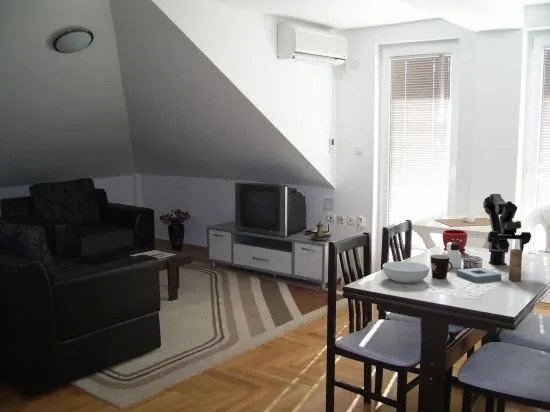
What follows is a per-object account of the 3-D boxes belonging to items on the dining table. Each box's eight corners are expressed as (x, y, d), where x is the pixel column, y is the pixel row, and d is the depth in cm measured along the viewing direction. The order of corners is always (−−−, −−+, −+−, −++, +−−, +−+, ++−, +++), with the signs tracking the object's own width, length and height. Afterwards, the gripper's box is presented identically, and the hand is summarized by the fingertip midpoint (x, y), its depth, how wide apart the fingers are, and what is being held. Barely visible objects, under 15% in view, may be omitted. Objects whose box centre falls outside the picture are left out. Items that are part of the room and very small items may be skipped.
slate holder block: (481, 272, 274) (481, 267, 274) (501, 279, 261) (501, 274, 261) (456, 275, 270) (456, 269, 270) (475, 282, 257) (475, 276, 257)
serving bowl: (439, 282, 257) (439, 267, 256) (404, 289, 246) (405, 273, 245) (406, 273, 275) (406, 259, 274) (372, 278, 264) (373, 264, 263)
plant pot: (440, 249, 328) (440, 229, 326) (463, 250, 327) (464, 229, 325) (444, 254, 315) (445, 233, 313) (468, 255, 314) (469, 233, 312)
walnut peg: (511, 278, 263) (513, 248, 262) (522, 280, 260) (524, 250, 258) (507, 280, 260) (508, 250, 258) (518, 282, 256) (519, 251, 255)
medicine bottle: (458, 264, 291) (458, 241, 290) (461, 268, 284) (462, 244, 282) (443, 264, 292) (444, 241, 290) (446, 267, 285) (447, 244, 283)
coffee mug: (427, 275, 270) (428, 254, 268) (445, 275, 270) (446, 254, 268) (434, 281, 258) (435, 260, 257) (453, 281, 258) (454, 260, 257)
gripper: (489, 214, 271) (494, 241, 261) (531, 215, 268) (537, 242, 259) (485, 228, 280) (489, 255, 270) (525, 229, 277) (531, 256, 267)
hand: (511, 252), depth 266 cm, fingers open, 9 cm apart
